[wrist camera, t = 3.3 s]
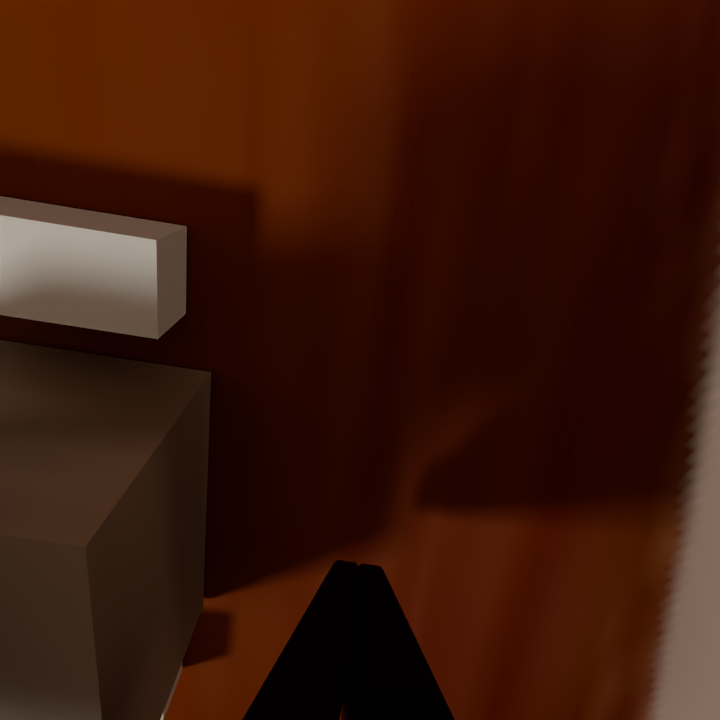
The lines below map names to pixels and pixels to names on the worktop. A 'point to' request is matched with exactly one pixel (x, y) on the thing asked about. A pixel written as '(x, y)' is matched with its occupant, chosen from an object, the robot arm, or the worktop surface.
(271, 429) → the worktop surface
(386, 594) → the robot arm
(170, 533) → the rider
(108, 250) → the beam slot
